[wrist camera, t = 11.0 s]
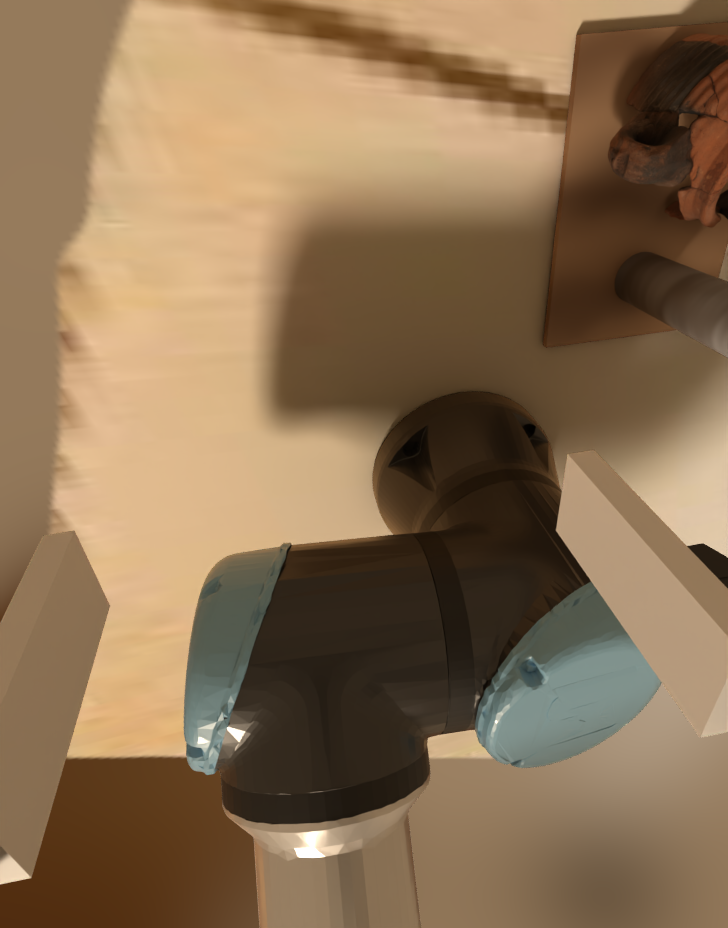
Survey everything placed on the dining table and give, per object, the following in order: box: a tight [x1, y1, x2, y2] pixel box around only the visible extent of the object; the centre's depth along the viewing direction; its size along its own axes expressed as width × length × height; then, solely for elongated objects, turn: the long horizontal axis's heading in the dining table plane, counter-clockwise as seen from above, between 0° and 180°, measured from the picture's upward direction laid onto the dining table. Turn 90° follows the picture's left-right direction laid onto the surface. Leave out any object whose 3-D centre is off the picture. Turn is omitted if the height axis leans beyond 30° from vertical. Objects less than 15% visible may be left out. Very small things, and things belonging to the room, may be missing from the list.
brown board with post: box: [543, 22, 728, 358], centre depth 33 cm, size 19×13×13 cm
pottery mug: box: [608, 33, 728, 228], centre depth 34 cm, size 12×10×8 cm
